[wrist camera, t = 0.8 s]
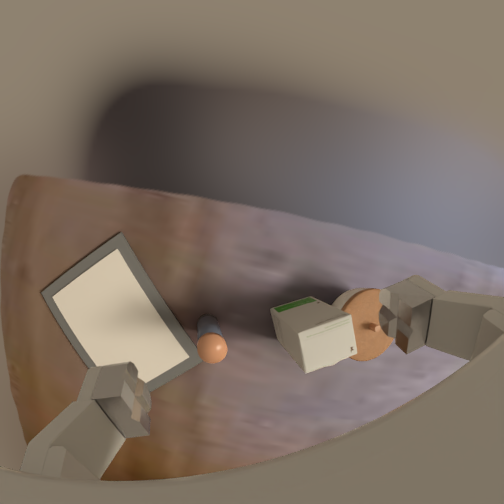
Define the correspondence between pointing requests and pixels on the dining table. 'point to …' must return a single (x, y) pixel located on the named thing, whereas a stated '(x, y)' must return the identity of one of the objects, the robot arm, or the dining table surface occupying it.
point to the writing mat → (120, 316)
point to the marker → (210, 339)
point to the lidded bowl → (364, 321)
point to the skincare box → (314, 332)
